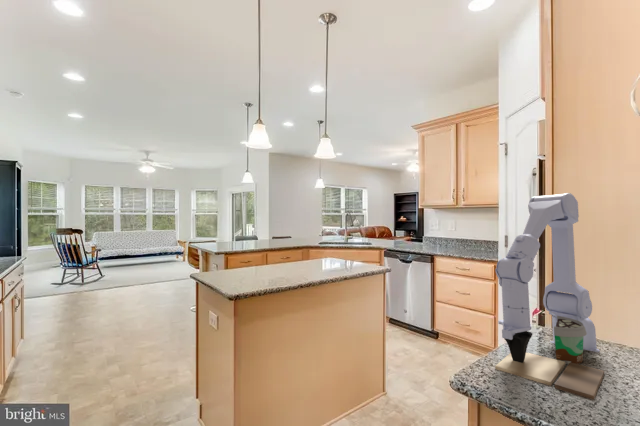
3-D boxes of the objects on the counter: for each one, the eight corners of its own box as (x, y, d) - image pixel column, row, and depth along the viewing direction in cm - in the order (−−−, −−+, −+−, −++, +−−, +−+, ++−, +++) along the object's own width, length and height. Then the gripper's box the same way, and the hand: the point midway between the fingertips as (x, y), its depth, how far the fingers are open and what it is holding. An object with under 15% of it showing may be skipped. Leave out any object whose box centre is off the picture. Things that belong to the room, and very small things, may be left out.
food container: (589, 375, 72) (586, 332, 72) (556, 368, 76) (553, 327, 76) (588, 357, 81) (586, 319, 82) (559, 351, 85) (557, 315, 86)
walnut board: (570, 369, 75) (569, 362, 75) (604, 378, 70) (604, 370, 70) (555, 392, 65) (554, 384, 65) (594, 404, 61) (593, 395, 61)
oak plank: (565, 368, 75) (565, 361, 75) (551, 389, 66) (550, 382, 66) (514, 355, 84) (514, 349, 84) (495, 372, 74) (495, 365, 74)
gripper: (508, 298, 85) (510, 348, 85) (487, 308, 76) (489, 365, 75) (538, 303, 80) (541, 356, 79) (520, 314, 70) (523, 375, 70)
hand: (518, 361), depth 77 cm, fingers closed, pressing on oak plank
